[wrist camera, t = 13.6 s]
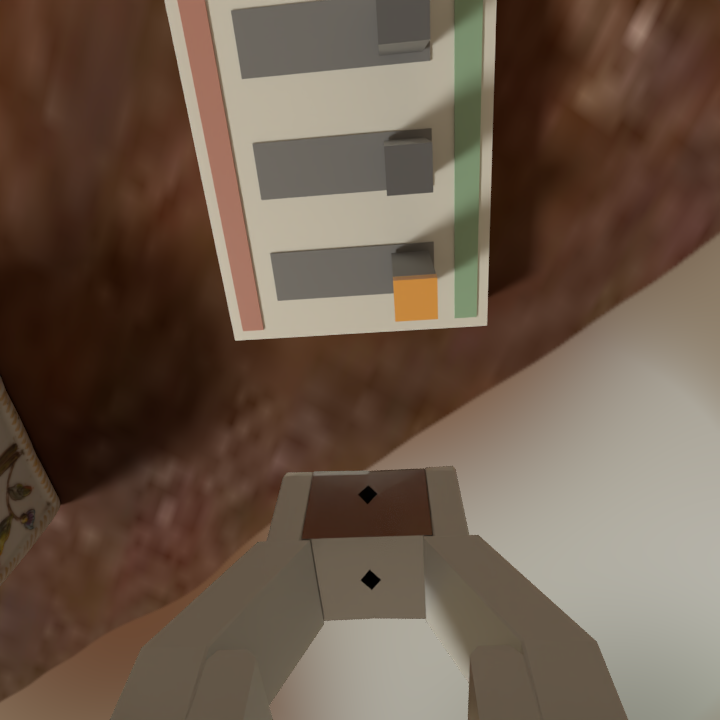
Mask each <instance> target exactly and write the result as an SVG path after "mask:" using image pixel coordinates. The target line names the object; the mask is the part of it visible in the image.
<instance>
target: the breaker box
mask: <svg viewBox="0 0 720 720" xmlns="http://www.w3.org/2000/svg"><path fill="white" fill-rule="evenodd" d="M165 5H166V10H167V15H168V19H169V24H170V29H171V34H172V39H173V44H174V48H175V53H176V58H177V63H178V68H179V72H180V77H181V82H182V87H183V92H184V97H185V101H186V106H187V111H188V116H189V121H190V125H191V130H192V135H193V140H194V145H195V149H196V154H197V159H198V164H199V169H200V174H201V178H202V183H203V188H204V193H205V198H206V202H207V207H208V212H209V217H210V222H211V227H212V231H213V236H214V241H215V246H216V251H217V255H218V260H219V265H220V270H221V275H222V280H223V284H224V289H225V294H226V299H227V304H228V308H229V313H230V318H231V323H232V328H233V332H234V337H235V341H237V340H254V339H270V338H287V337H304V336H321V335H337V334H354V333H371V332H387V331H404V330H421V329H437V328H454V327H471V326H487V307H488V273H489V239H490V206H491V172H492V139H493V105H494V72H495V38H496V5H497V0H165ZM414 251H429V254H430V257H431V260H432V263H433V266H434V269H435V272H436V275H437V283H438V319H431V320H415V321H399V322H395V308H394V291H393V273H392V255H391V253H400V252H414Z"/></svg>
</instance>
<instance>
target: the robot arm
mask: <svg viewBox="0 0 720 720" xmlns="http://www.w3.org/2000/svg"><path fill="white" fill-rule="evenodd" d="M370 618H402V619H404V618H405V619H406V618H407V619H426V622H427V623H428V625H429V626H430V628H431V629H432V630H433V632H434V633H435V635H436V636H437V638H438V639H439V641H440V642H441V644H442V645H443V646H444V648H445V649H446V651H447V652H448V654H449V655H450V656H451V658H452V659H453V661H454V662H455V664H456V665H457V667H458V668H459V670H460V671H461V673H462V674H463V675H464V677H465V678H466V680H467V681H468V683H469V700H468V720H628V719H627V716H626V713H625V711H624V708H623V706H622V703H621V701H620V698H619V696H618V694H617V691H616V688H615V686H614V683H613V681H612V678H611V676H610V673H609V671H608V668H607V666H606V663H605V661H604V659H603V656H602V654H601V651H600V648H599V646H598V644H597V641H595V640H594V639H593V638H592V637H591V636H590V635H589V634H587V632H585V631H584V630H583V629H582V628H581V627H580V626H579V625H578V624H577V623H575V622H574V621H573V620H572V619H571V618H570V617H569V616H568V615H567V614H565V613H564V612H563V611H562V610H561V609H560V608H559V607H558V606H556V605H555V604H554V603H553V602H552V601H551V600H550V599H549V598H548V597H546V596H545V595H544V594H543V593H542V592H541V591H540V590H539V589H538V588H537V587H535V586H534V585H533V584H532V583H531V582H530V581H529V580H528V579H526V578H525V577H524V576H523V575H522V574H521V573H520V572H519V571H517V570H516V569H515V568H514V567H513V566H512V565H511V564H510V563H509V562H508V561H507V560H505V559H504V558H503V557H502V556H501V555H500V554H499V553H498V552H497V551H495V550H494V549H493V548H492V547H491V546H490V545H489V544H488V543H487V542H485V541H484V540H483V539H482V538H481V537H480V536H479V535H469V532H468V527H467V522H466V517H465V513H464V508H463V503H462V498H461V494H460V488H459V484H458V479H457V474H456V469H455V468H454V467H453V466H443V467H429V468H428V467H427V468H425V469H401V470H380V471H327V472H314V473H313V472H296V473H286V475H285V476H284V478H283V480H282V484H281V488H280V491H279V495H278V499H277V503H276V507H275V511H274V514H273V518H272V522H271V526H270V530H269V534H268V538H267V541H266V542H257V543H256V544H255V545H254V546H253V547H252V548H251V549H250V550H249V551H247V552H246V553H245V554H244V555H243V556H242V557H241V558H240V559H239V560H238V561H236V562H235V563H234V564H233V565H232V566H231V567H230V568H229V569H228V570H227V571H226V572H224V573H223V574H222V575H221V576H220V577H219V578H218V579H217V580H216V581H215V582H213V583H212V584H211V585H210V586H209V587H208V588H207V589H206V590H205V591H204V592H203V593H201V594H200V595H199V596H198V597H197V598H196V599H195V600H194V601H193V602H192V603H190V604H189V605H188V606H187V607H186V608H185V609H184V610H183V611H182V612H181V613H180V614H178V615H177V616H176V617H175V618H174V619H173V620H172V621H171V622H170V623H169V624H168V625H166V627H164V628H163V629H162V630H161V631H160V632H159V633H158V634H156V635H155V636H154V637H153V638H152V639H151V640H150V641H149V642H148V643H147V644H145V646H143V647H142V648H141V650H140V653H139V655H138V657H137V659H136V662H135V664H134V666H133V668H132V671H131V673H130V675H129V678H128V680H127V682H126V684H125V687H124V689H123V691H122V693H121V696H120V698H119V700H118V702H117V705H116V707H115V709H114V712H113V714H112V716H111V718H110V720H273V719H272V715H271V711H270V707H269V705H270V704H271V702H272V700H273V699H274V698H275V696H276V695H277V693H278V692H279V690H280V688H281V687H282V686H283V684H284V683H285V681H286V680H287V678H288V677H289V675H290V674H291V672H292V671H293V669H294V668H295V666H296V665H297V663H298V662H299V660H300V659H301V657H302V656H303V655H304V653H305V651H306V650H307V649H308V647H309V645H310V644H311V642H312V641H313V640H314V638H315V637H316V635H317V634H318V632H319V631H320V629H321V628H322V626H323V625H324V621H329V620H350V619H370Z"/></svg>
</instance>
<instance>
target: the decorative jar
mask: <svg viewBox="0 0 720 720" xmlns="http://www.w3.org/2000/svg"><path fill="white" fill-rule="evenodd" d="M59 508H60V500H59V498H58V496H57V494H56V492H55V490H54V488H53V486H52V484H51V482H50V480H49V478H48V476H47V474H46V472H45V470H44V468H43V467H42V464H41V462H40V461H39V459H38V457H37V455H36V453H35V451H34V449H33V446H32V443H31V441H30V439H29V437H28V434H27V432H26V430H25V428H24V426H23V423H22V421H21V420H20V417H19V415H18V413H17V411H16V409H15V407H14V405H13V403H12V402H11V400H10V398H9V396H8V394H7V392H6V390H5V387H4V384H3V382H2V379H1V376H0V585H1V584H2V583H3V582H4V580H5V579H6V578H7V577H8V576H9V574H10V573H11V572H12V571H13V569H14V568H15V567H16V566H17V565H18V563H19V562H20V561H21V559H22V558H23V557H24V556H25V555H26V554H27V552H28V551H29V550H30V549H31V547H32V546H33V545H34V543H35V542H36V541H37V539H38V538H39V537H40V535H41V534H42V533H43V532H44V530H45V529H46V528H47V526H48V525H49V524H50V522H51V521H52V519H53V518H54V517H55V515H56V513H57V511H58V510H59Z"/></svg>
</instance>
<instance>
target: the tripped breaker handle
mask: <svg viewBox="0 0 720 720" xmlns="http://www.w3.org/2000/svg"><path fill="white" fill-rule="evenodd" d="M391 255H392V273H393V291H394V308H395V322H399V321H415V320H431V319H438V283H437V275H436V272H435V269H434V266H433V263H432V260H431V257H430V254H429V251H414V252H400V253H391Z"/></svg>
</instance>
